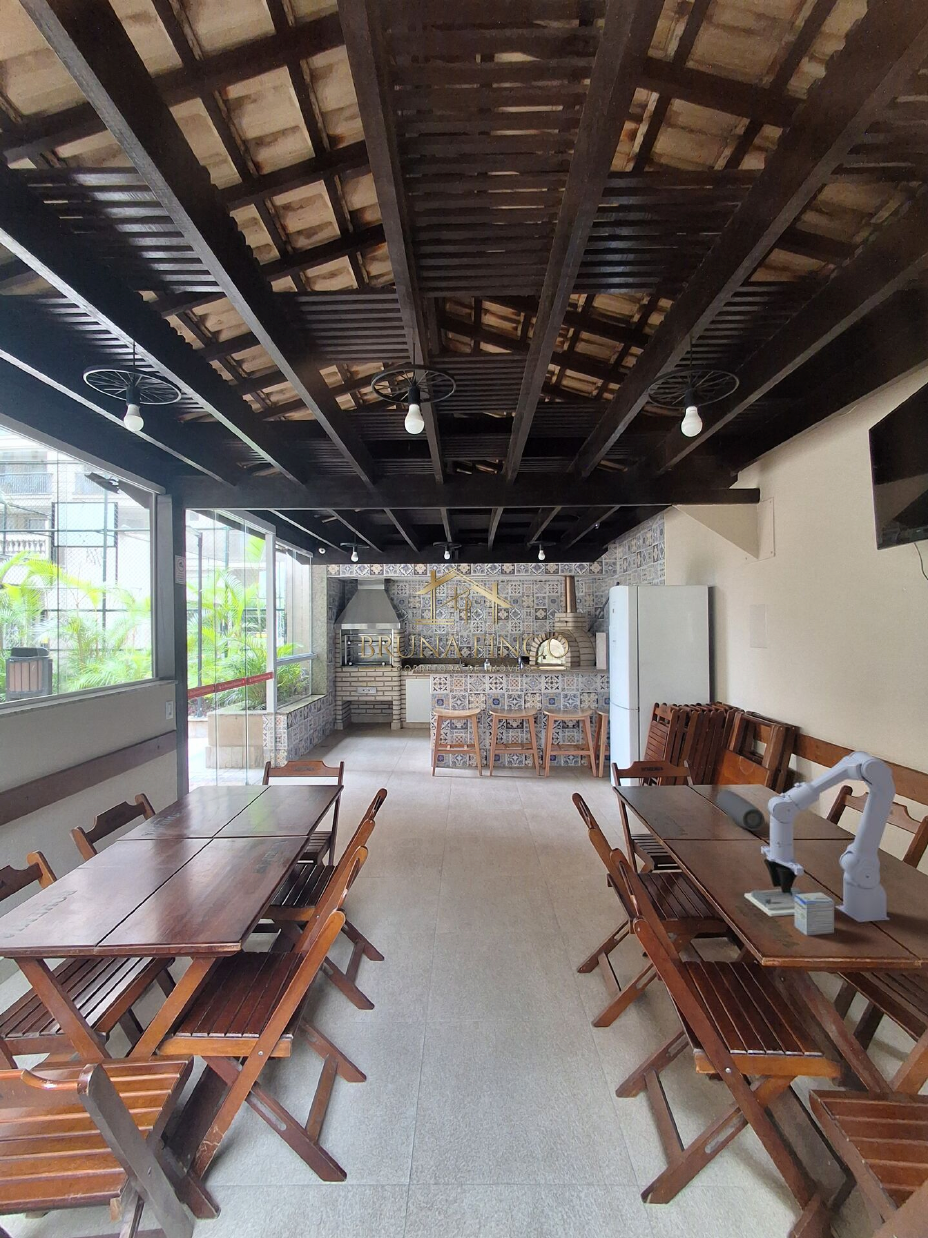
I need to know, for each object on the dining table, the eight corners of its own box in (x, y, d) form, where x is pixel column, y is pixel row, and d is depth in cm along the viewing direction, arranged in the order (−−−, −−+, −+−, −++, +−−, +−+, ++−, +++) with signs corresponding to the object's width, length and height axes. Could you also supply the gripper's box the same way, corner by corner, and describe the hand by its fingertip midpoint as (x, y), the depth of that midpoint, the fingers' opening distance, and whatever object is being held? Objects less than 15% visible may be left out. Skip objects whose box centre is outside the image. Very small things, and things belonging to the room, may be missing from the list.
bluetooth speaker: (766, 834, 206) (766, 807, 206) (741, 834, 207) (741, 807, 207) (737, 812, 229) (737, 788, 229) (715, 812, 229) (715, 788, 229)
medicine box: (821, 924, 145) (821, 891, 145) (834, 934, 141) (834, 900, 141) (793, 926, 144) (793, 893, 144) (806, 936, 140) (806, 902, 140)
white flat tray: (791, 892, 162) (791, 882, 162) (820, 912, 151) (820, 901, 151) (744, 896, 160) (744, 885, 160) (770, 916, 149) (770, 905, 149)
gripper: (751, 832, 162) (751, 878, 162) (786, 852, 148) (786, 903, 148) (773, 830, 163) (773, 876, 163) (810, 851, 149) (810, 901, 149)
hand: (781, 889), depth 156 cm, fingers open, 3 cm apart
